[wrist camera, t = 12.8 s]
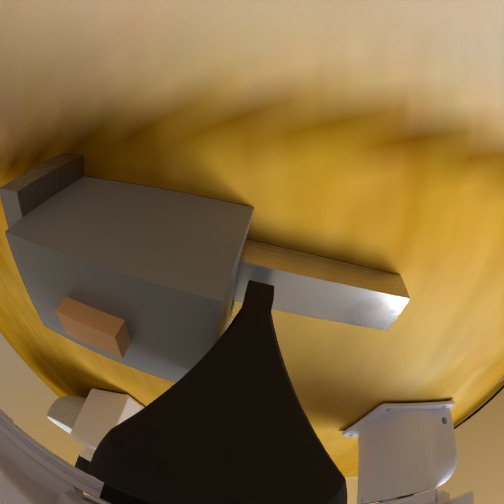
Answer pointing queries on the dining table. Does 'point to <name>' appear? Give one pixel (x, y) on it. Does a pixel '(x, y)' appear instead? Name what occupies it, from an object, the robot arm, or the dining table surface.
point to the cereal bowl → (66, 411)
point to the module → (133, 270)
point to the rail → (253, 261)
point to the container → (100, 421)
